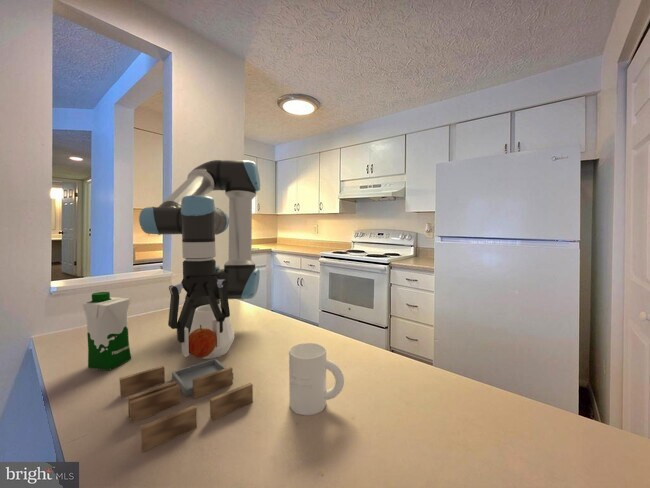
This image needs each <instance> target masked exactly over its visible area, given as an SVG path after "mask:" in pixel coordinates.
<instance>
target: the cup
mask: <svg viewBox="0 0 650 488" xmlns="http://www.w3.org/2000/svg"><path fill="white" fill-rule="evenodd" d="M218 306H219V308H220V311H221V304H218ZM221 313H222V312H221ZM212 320H216V318H215V316H214V314H213V311H212V309H211V307H210V304H209V305H203V306H200V307H198V308H196V310H195V313H194V317H193V321H192V326H191V330H190V332H189V333H188V336H189V335H190V333H192V332H193V331H195V330H196V329H199V328H200V325H201V328H204V329H210V330H211V331H213V325H212ZM234 340H235V333H234V329H233V325H232V322H231V318H230V316H229V317H226V318H225V320H224V321H223V332H222V333H220V347H218V348H217V347H216V346H215V348H214V350H213V351H212V352H211V353H210V354H209V355H208V356H206V357H203V358H200V359H203V360H212V359H217V358H220V357H222V356H224V355H225V354H226V353H228V352H229V349H230V348H231V346H232V344H233V342H234Z"/></svg>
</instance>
